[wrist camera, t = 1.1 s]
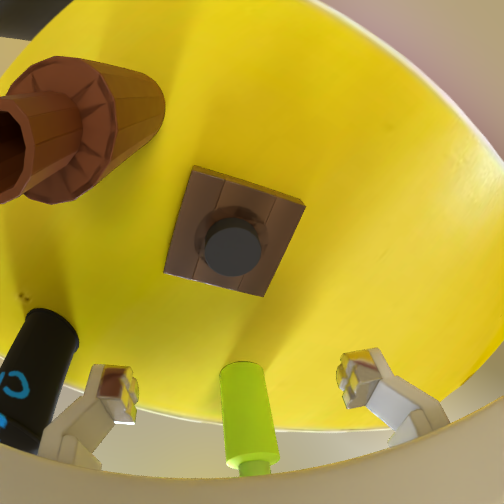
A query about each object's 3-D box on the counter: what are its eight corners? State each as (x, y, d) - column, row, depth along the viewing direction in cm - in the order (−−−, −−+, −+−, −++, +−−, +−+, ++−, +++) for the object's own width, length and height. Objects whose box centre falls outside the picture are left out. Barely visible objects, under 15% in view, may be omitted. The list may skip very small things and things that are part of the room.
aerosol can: (90, 349, 34) (55, 490, 16) (50, 356, 34) (11, 478, 16) (55, 301, 29) (-10, 450, 12) (15, 313, 30) (-45, 438, 12)
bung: (199, 246, 28) (197, 269, 25) (214, 202, 26) (214, 220, 23) (245, 258, 30) (249, 282, 26) (262, 216, 28) (270, 236, 24)
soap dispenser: (213, 388, 39) (223, 522, 22) (225, 358, 36) (241, 512, 19) (253, 392, 41) (274, 520, 24) (269, 363, 38) (300, 507, 20)
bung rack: (165, 262, 29) (162, 273, 27) (193, 164, 24) (192, 170, 23) (260, 286, 31) (263, 297, 30) (300, 199, 27) (306, 206, 26)
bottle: (81, 140, 22) (-57, 221, 7) (101, 65, 19) (-44, 53, 4) (152, 158, 24) (65, 265, 9) (176, 81, 21) (102, 57, 6)
